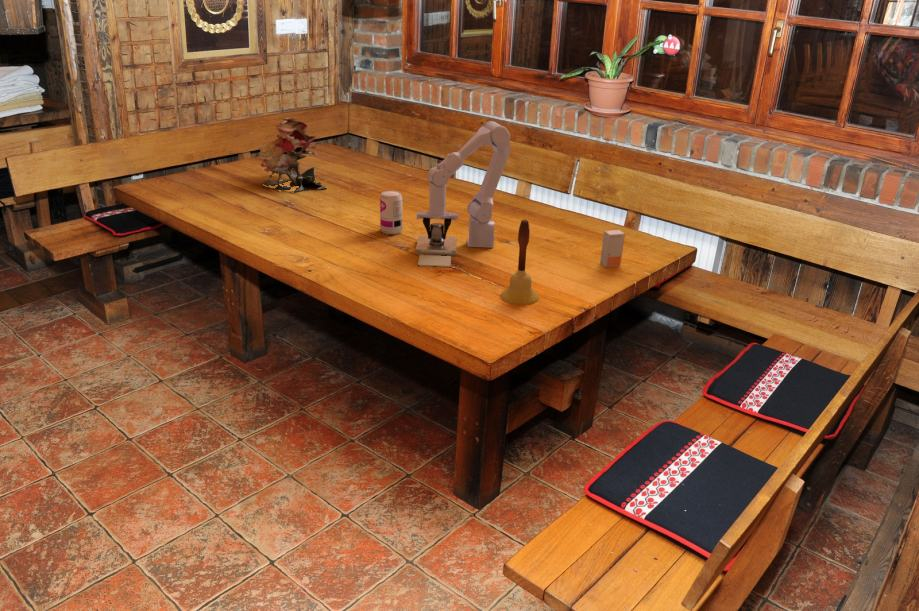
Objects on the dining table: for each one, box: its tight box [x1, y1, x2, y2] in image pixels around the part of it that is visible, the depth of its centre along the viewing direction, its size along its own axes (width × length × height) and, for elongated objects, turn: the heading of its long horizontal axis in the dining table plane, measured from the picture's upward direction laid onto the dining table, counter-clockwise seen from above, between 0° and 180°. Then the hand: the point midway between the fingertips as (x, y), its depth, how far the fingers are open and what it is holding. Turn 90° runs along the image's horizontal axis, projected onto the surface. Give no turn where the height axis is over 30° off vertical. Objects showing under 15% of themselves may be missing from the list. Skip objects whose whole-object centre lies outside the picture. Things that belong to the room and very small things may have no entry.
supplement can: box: [379, 190, 403, 235], centre depth 289 cm, size 8×8×15 cm
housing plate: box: [415, 235, 458, 257], centre depth 277 cm, size 14×14×2 cm
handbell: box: [499, 219, 540, 306], centre depth 236 cm, size 12×12×25 cm
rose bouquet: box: [259, 117, 326, 193], centre depth 337 cm, size 26×29×30 cm
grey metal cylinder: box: [430, 222, 444, 246], centre depth 276 cm, size 5×5×8 cm
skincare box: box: [599, 229, 626, 268], centre depth 266 cm, size 6×4×12 cm
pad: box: [417, 255, 452, 268], centre depth 266 cm, size 11×9×1 cm
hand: (436, 238), depth 276 cm, fingers closed on grey metal cylinder, 5 cm apart
